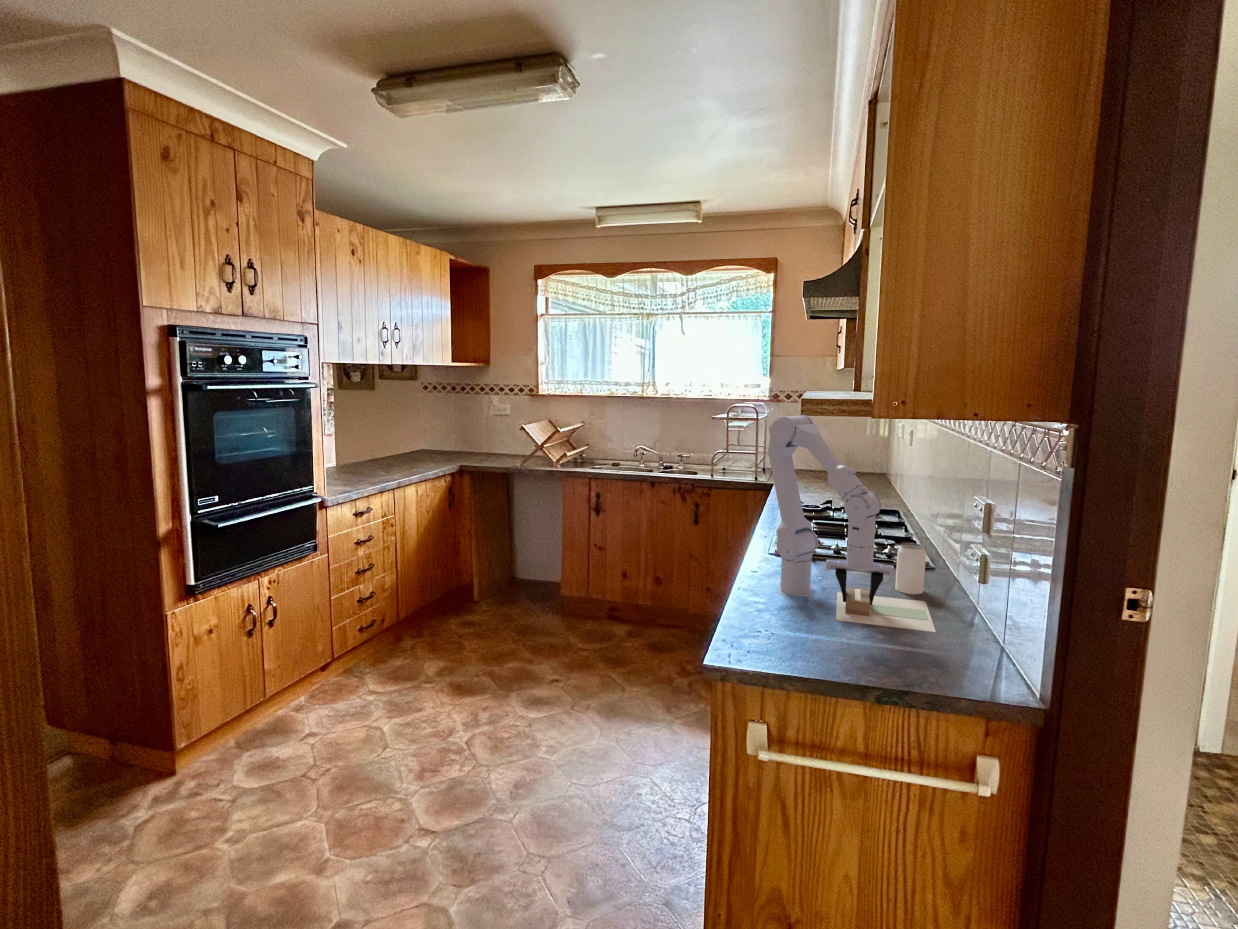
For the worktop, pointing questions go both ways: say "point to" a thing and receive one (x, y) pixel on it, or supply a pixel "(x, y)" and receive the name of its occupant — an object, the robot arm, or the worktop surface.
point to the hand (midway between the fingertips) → (857, 602)
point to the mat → (890, 613)
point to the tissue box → (857, 601)
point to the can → (910, 568)
